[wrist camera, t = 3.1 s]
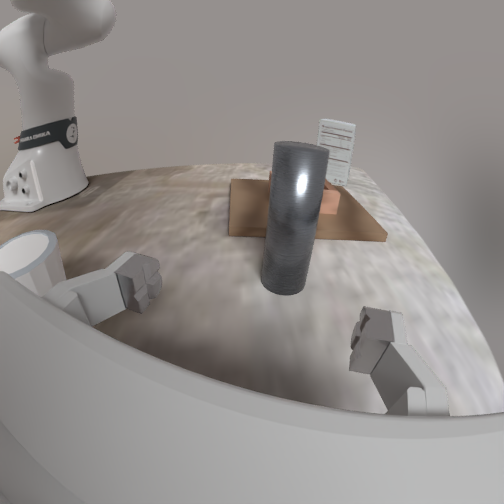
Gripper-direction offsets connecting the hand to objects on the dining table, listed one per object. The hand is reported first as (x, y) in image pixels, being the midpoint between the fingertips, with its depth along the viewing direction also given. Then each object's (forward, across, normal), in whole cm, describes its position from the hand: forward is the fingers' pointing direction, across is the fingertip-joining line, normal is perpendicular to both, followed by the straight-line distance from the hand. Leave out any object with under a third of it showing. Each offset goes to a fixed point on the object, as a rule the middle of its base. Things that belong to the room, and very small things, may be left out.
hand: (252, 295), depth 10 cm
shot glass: (-1, +17, +8) cm, 19 cm away
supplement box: (+51, -3, +8) cm, 52 cm away
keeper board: (+30, +2, +8) cm, 31 cm away
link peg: (+12, 0, +8) cm, 15 cm away
